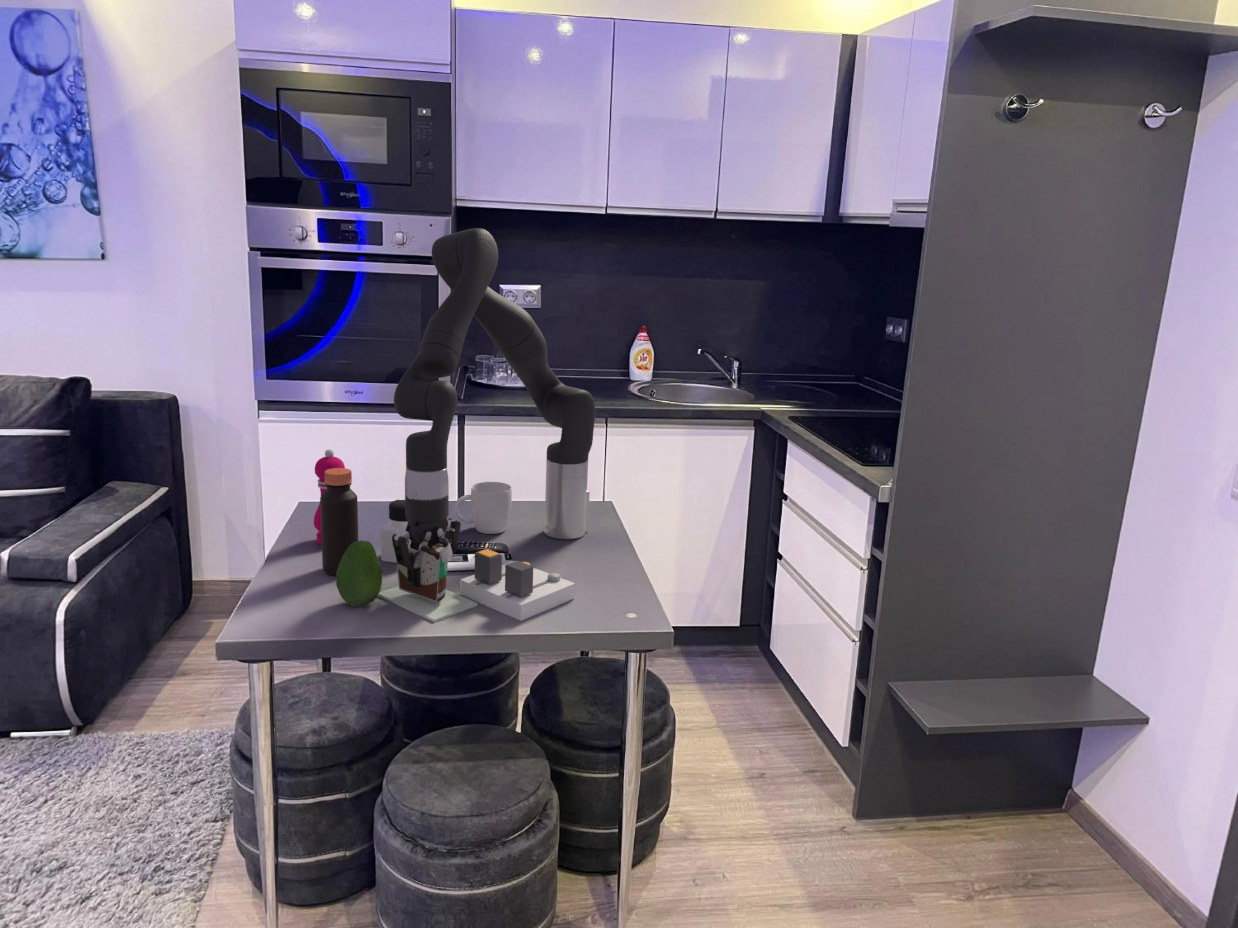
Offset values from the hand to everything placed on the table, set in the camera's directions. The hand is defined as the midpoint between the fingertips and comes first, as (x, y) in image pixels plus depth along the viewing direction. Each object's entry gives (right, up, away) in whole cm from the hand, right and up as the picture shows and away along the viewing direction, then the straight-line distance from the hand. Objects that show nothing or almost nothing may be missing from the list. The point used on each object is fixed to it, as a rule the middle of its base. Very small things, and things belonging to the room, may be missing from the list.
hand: (427, 580), depth 162 cm
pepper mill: (-26, +5, +28) cm, 39 cm away
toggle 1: (+10, 0, +3) cm, 11 cm away
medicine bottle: (-9, +2, +21) cm, 23 cm away
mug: (+4, +6, +40) cm, 40 cm away
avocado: (-12, -4, -2) cm, 13 cm away
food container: (0, -2, +1) cm, 2 cm away
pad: (0, -4, +1) cm, 4 cm away
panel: (+16, -4, +5) cm, 17 cm away
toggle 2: (+17, -2, -1) cm, 17 cm away
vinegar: (-20, 0, +13) cm, 24 cm away
